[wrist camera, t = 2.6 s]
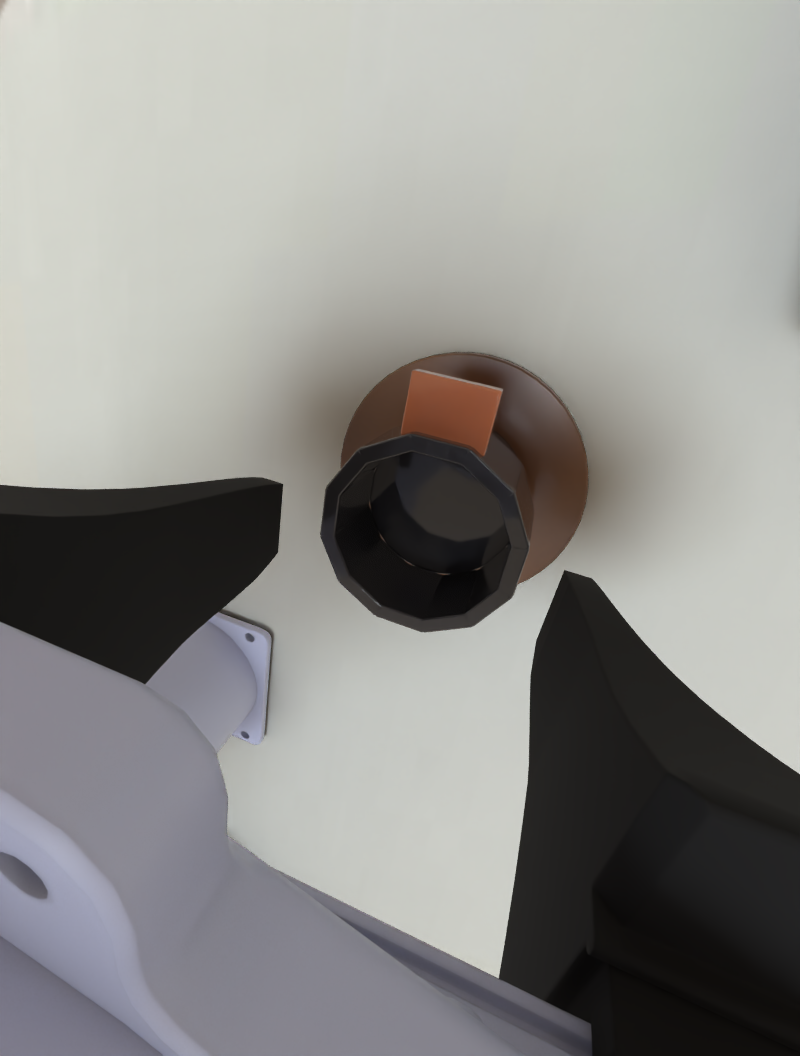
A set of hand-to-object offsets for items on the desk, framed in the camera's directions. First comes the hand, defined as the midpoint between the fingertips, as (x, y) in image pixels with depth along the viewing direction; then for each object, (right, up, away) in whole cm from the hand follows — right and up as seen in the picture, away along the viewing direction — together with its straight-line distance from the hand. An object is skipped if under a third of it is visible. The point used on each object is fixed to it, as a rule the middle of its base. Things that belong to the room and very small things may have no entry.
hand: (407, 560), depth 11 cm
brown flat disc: (+2, +3, +6) cm, 7 cm away
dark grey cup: (+2, +2, +5) cm, 6 cm away
